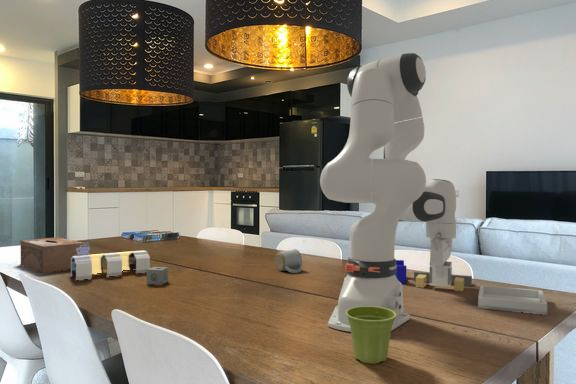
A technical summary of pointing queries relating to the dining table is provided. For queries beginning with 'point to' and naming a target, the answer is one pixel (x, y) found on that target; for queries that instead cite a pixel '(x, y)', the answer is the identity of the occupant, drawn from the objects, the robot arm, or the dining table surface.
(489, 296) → the parts tray
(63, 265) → the tissue box cover
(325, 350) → the dining table surface
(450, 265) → the grey rectangular box
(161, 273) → the dice cube
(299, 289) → the dining table surface
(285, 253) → the ceramic mug
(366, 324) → the plant pot
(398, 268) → the cable clip
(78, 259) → the multicoloured piece
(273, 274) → the dining table surface
